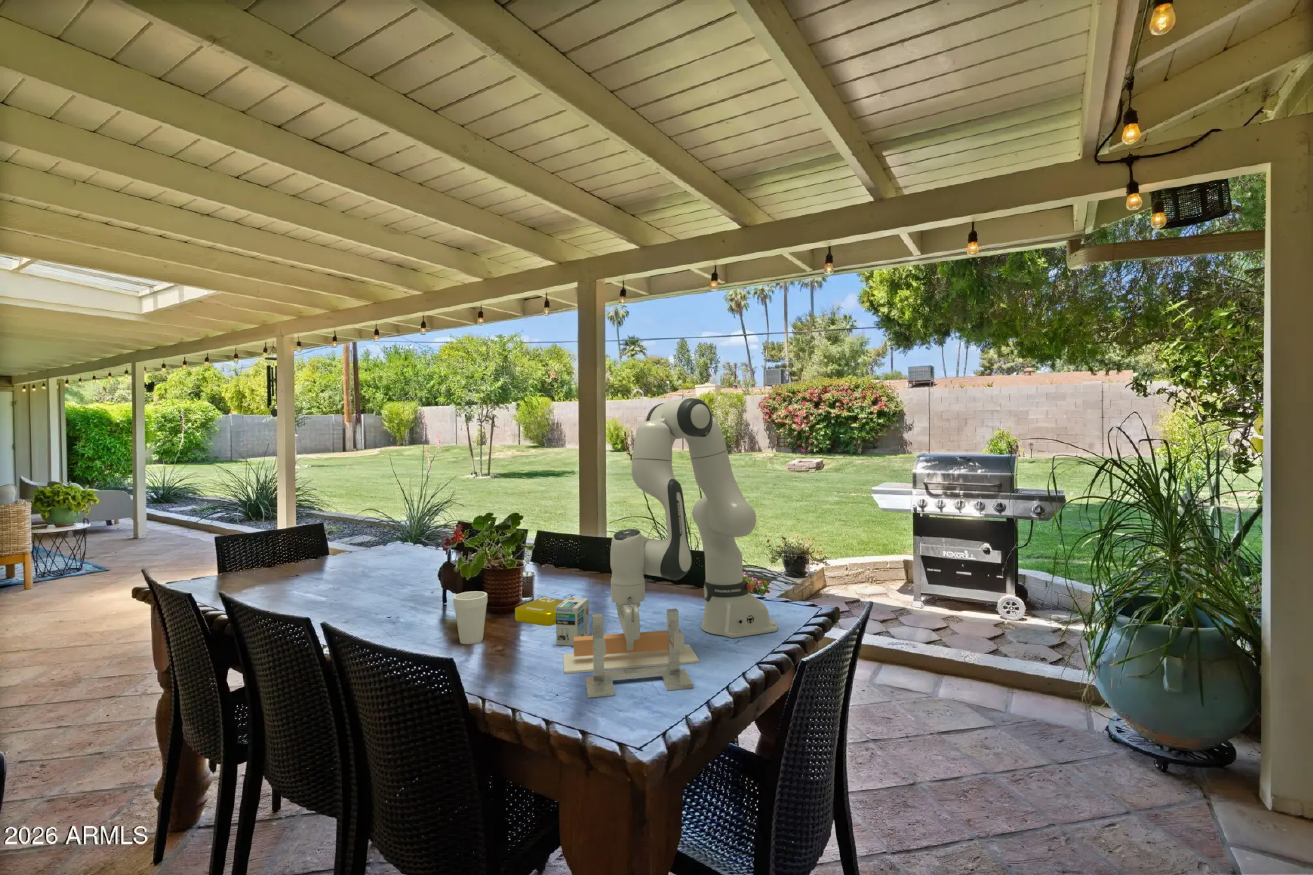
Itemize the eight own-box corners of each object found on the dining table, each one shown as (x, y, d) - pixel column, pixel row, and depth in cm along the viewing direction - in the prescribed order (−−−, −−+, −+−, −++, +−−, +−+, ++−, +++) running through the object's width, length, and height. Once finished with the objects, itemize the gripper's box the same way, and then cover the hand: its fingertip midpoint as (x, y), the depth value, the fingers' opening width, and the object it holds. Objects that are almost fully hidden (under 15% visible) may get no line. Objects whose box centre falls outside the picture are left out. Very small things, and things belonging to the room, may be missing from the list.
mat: (688, 646, 167) (688, 644, 167) (699, 662, 155) (699, 660, 155) (563, 656, 161) (563, 654, 161) (564, 674, 150) (564, 671, 150)
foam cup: (494, 639, 176) (493, 594, 176) (465, 648, 169) (464, 601, 169) (477, 633, 182) (476, 589, 182) (448, 641, 176) (447, 596, 176)
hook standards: (684, 673, 149) (683, 607, 148) (693, 688, 140) (691, 618, 140) (585, 681, 145) (584, 614, 144) (587, 697, 136) (586, 626, 136)
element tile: (512, 621, 194) (512, 606, 194) (542, 609, 207) (542, 595, 207) (550, 628, 187) (549, 612, 187) (578, 614, 200) (578, 600, 200)
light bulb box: (578, 646, 169) (577, 608, 169) (555, 645, 170) (554, 607, 170) (590, 634, 179) (589, 597, 179) (568, 633, 181) (567, 596, 181)
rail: (680, 644, 162) (679, 629, 162) (682, 648, 159) (682, 633, 159) (573, 652, 158) (573, 636, 158) (574, 656, 155) (573, 640, 154)
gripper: (645, 603, 149) (646, 659, 149) (635, 583, 169) (636, 633, 169) (619, 604, 148) (620, 661, 148) (612, 584, 168) (613, 634, 168)
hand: (628, 646), depth 158 cm, fingers closed on rail, 3 cm apart
